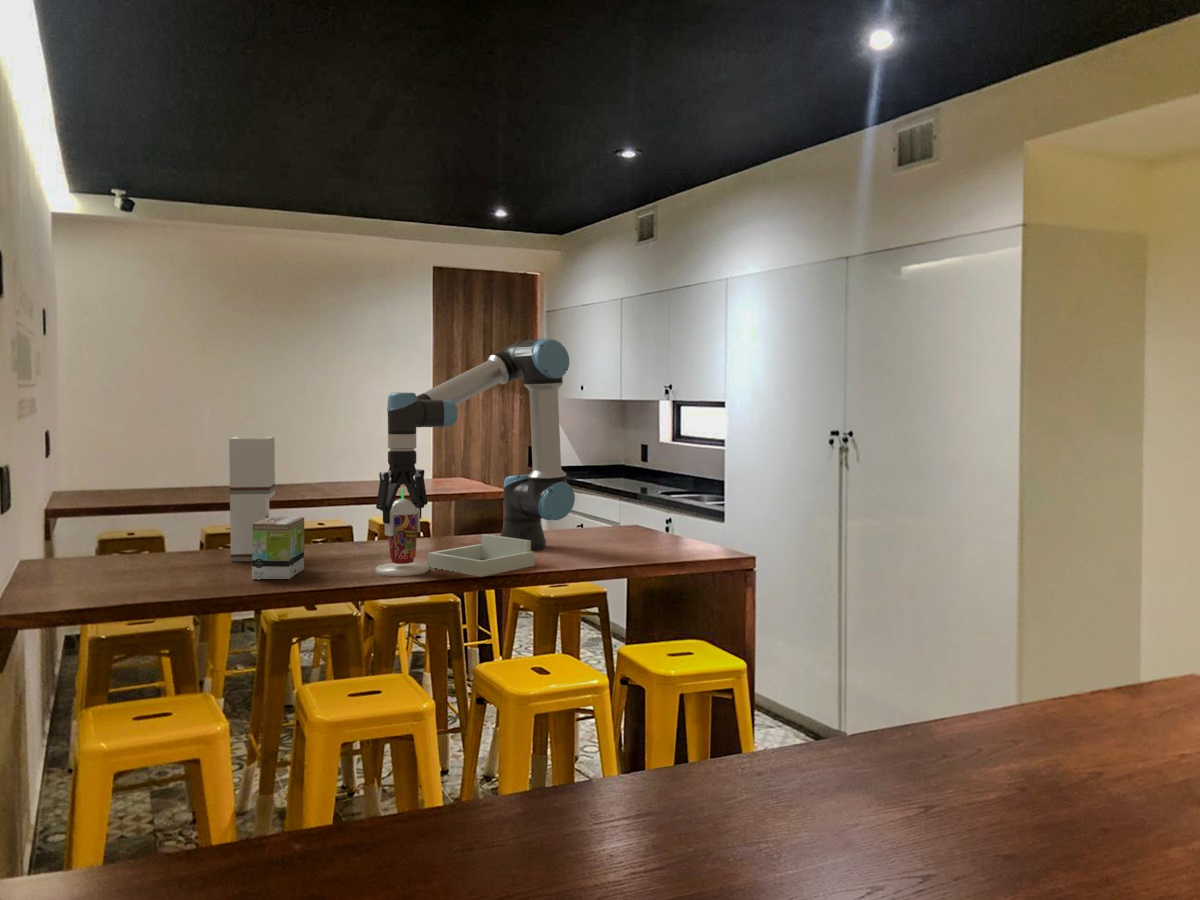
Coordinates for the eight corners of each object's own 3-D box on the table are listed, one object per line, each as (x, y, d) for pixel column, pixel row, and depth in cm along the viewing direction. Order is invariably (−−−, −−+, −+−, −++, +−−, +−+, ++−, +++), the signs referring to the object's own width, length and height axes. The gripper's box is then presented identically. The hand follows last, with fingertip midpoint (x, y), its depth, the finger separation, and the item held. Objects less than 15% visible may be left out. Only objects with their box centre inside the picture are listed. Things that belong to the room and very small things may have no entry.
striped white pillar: (270, 560, 265) (268, 438, 263) (230, 561, 263) (229, 438, 261) (275, 553, 276) (274, 436, 274) (237, 554, 274) (236, 436, 272)
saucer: (405, 564, 260) (405, 560, 260) (439, 570, 252) (439, 566, 252) (365, 571, 249) (365, 567, 249) (399, 578, 241) (399, 573, 241)
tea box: (291, 580, 237) (290, 523, 237) (251, 580, 237) (250, 523, 236) (305, 569, 252) (304, 515, 252) (267, 569, 252) (266, 515, 251)
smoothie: (410, 565, 246) (410, 490, 244) (381, 564, 247) (381, 489, 246) (423, 560, 254) (422, 487, 253) (394, 558, 255) (394, 486, 254)
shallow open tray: (481, 557, 274) (481, 533, 273) (534, 565, 261) (534, 541, 260) (427, 567, 257) (427, 542, 257) (481, 576, 244) (481, 550, 244)
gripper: (422, 447, 259) (423, 527, 261) (361, 450, 243) (361, 536, 244) (441, 448, 255) (441, 530, 256) (379, 452, 238) (380, 539, 239)
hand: (402, 533), depth 250 cm, fingers closed on smoothie, 8 cm apart
